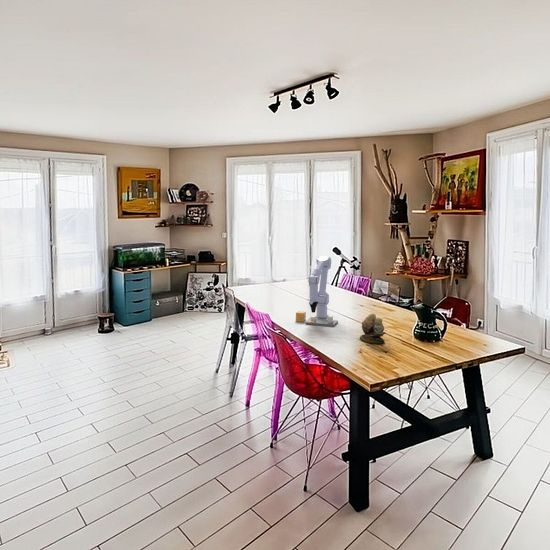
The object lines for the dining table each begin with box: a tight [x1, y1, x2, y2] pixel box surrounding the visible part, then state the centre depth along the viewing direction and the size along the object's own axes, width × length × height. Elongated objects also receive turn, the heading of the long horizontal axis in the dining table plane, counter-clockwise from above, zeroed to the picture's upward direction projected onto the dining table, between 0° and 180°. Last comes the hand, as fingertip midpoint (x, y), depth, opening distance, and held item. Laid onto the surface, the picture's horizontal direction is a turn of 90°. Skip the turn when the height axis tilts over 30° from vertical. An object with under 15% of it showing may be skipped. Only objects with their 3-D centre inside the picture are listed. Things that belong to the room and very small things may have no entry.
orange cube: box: [295, 310, 307, 323], centre depth 309 cm, size 6×6×6 cm
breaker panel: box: [304, 317, 339, 328], centre depth 301 cm, size 12×20×2 cm, turn 70°
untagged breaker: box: [327, 315, 334, 323], centre depth 299 cm, size 3×3×4 cm
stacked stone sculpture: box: [359, 313, 387, 345], centre depth 260 cm, size 18×12×17 cm, turn 34°
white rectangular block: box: [310, 315, 317, 321], centre depth 303 cm, size 3×3×4 cm
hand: (313, 312), depth 302 cm, fingers closed
